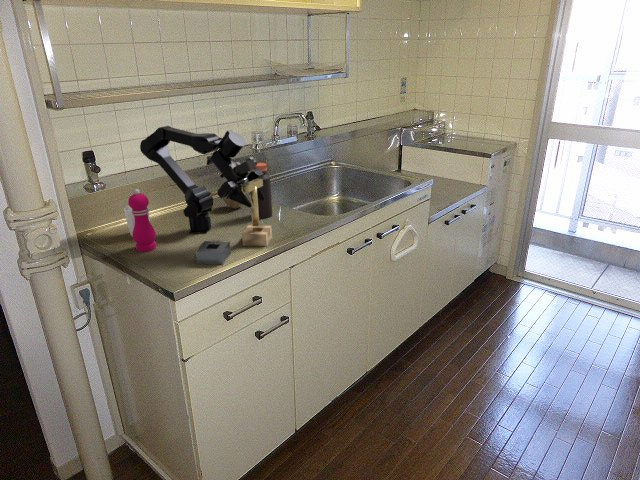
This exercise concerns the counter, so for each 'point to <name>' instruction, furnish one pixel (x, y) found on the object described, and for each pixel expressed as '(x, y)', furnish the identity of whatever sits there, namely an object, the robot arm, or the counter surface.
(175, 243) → the counter surface
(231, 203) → the natural sponge
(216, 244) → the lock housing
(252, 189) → the T-key
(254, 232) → the tan square ring block
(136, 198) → the pepper mill
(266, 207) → the bottle
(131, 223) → the white cup
